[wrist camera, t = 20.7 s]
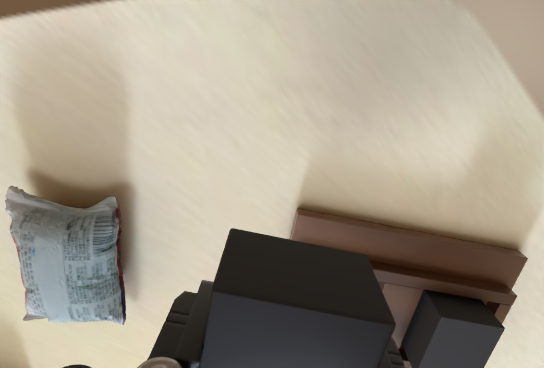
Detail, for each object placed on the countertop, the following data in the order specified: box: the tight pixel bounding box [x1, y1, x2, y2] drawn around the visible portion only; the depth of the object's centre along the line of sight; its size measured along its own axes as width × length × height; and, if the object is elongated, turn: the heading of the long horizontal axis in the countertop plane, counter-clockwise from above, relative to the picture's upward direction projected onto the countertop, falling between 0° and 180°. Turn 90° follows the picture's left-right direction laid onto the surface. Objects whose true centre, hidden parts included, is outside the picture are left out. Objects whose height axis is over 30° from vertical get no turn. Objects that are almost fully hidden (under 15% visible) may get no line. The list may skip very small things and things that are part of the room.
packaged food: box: [5, 186, 126, 325], centre depth 27 cm, size 9×12×5 cm
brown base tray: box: [290, 209, 528, 368], centre depth 30 cm, size 15×19×2 cm
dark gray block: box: [200, 229, 396, 368], centre depth 12 cm, size 6×5×4 cm
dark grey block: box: [402, 289, 505, 368], centre depth 28 cm, size 6×5×4 cm
